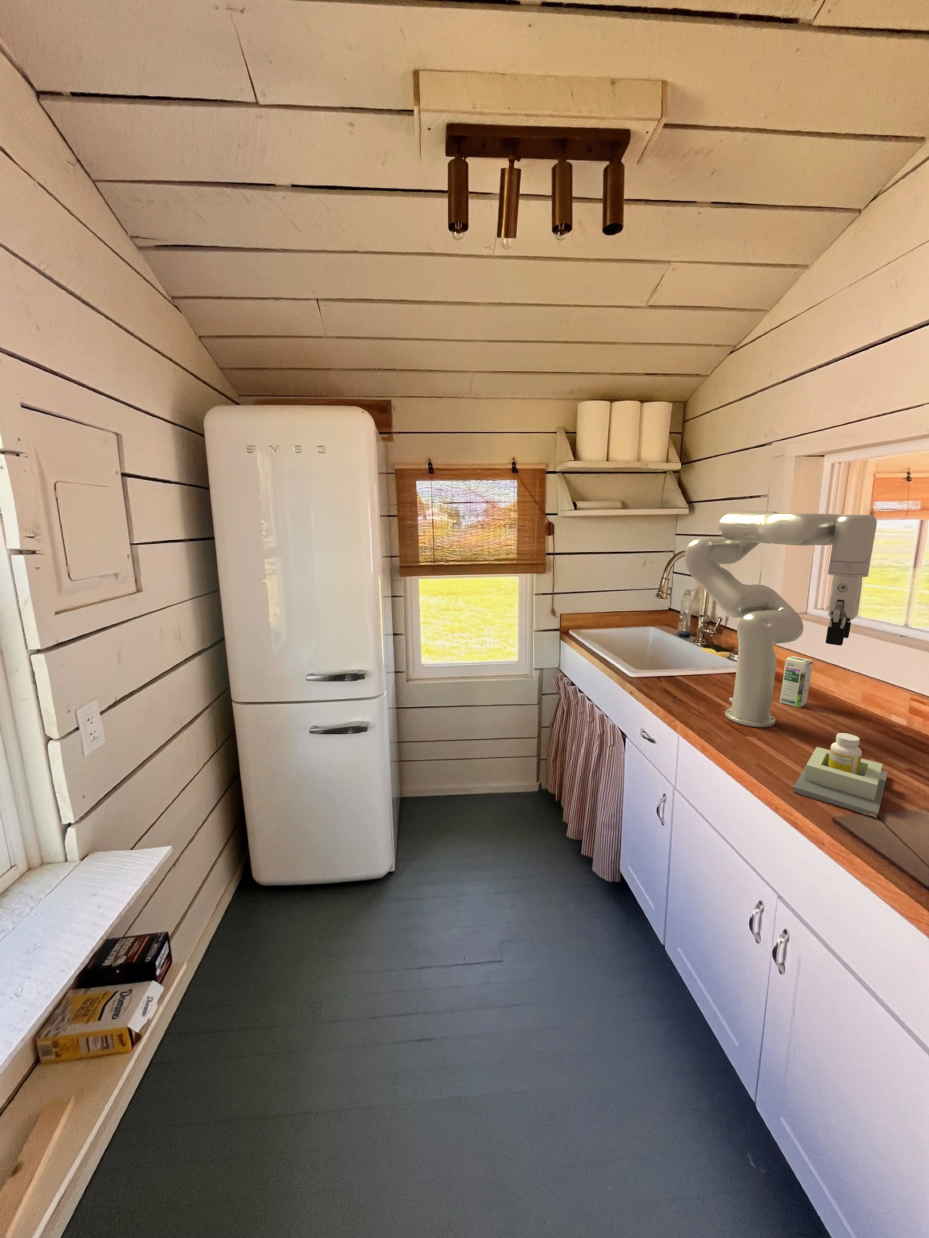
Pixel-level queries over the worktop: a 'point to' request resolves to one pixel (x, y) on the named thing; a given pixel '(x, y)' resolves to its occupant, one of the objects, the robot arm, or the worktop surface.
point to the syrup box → (796, 681)
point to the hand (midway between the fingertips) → (837, 640)
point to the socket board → (841, 795)
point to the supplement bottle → (845, 753)
